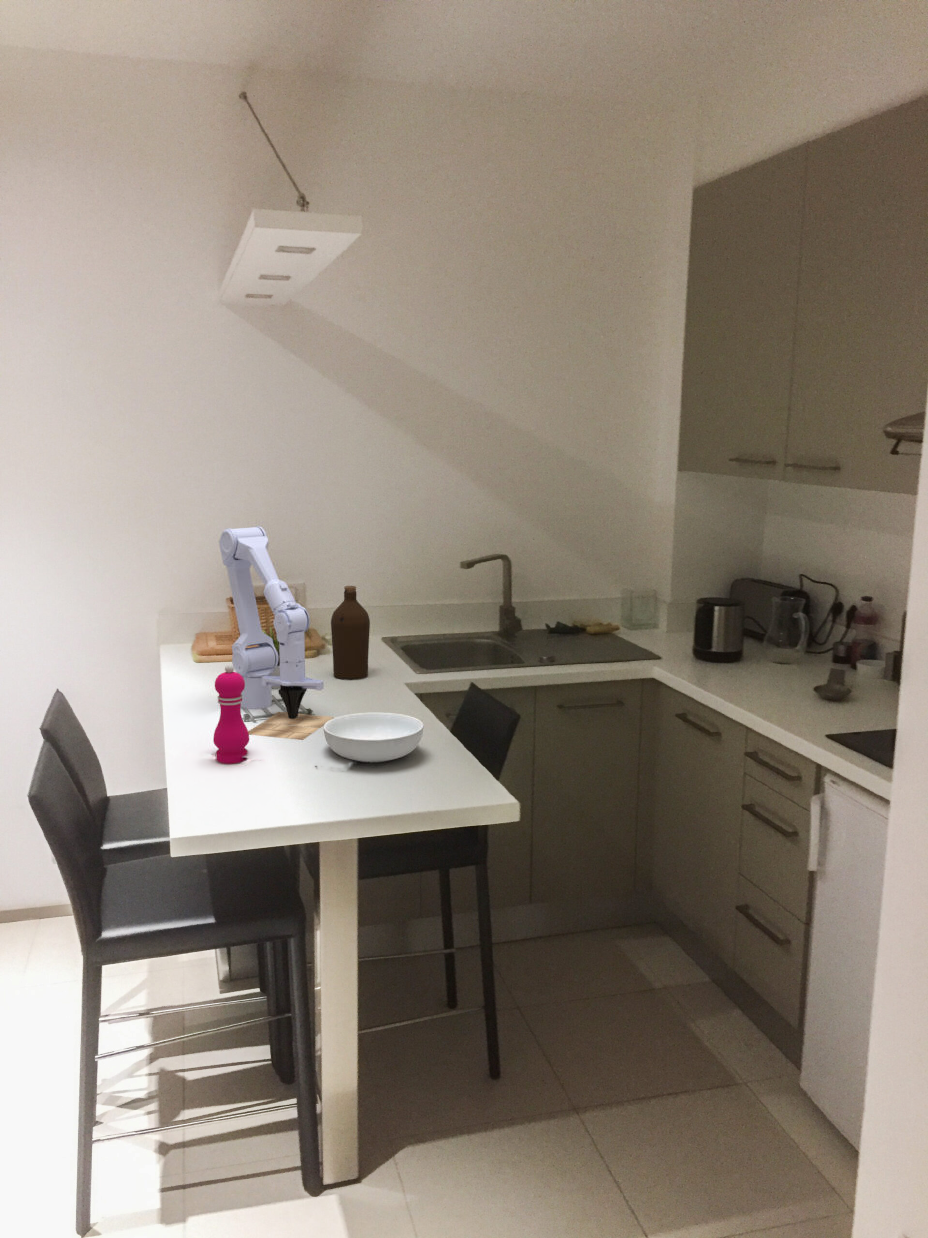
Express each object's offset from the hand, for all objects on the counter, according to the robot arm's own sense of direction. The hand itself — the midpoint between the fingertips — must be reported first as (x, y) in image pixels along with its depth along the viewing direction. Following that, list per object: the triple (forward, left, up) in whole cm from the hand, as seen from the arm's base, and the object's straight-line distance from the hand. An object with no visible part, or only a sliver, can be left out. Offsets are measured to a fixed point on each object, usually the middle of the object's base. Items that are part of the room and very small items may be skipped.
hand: (293, 717), depth 235 cm
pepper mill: (-1, -27, -2) cm, 28 cm away
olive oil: (-4, +47, -2) cm, 47 cm away
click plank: (+2, -1, -1) cm, 2 cm away
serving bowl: (+26, -16, -2) cm, 31 cm away
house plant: (-18, +29, -2) cm, 34 cm away
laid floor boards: (+2, -10, -1) cm, 10 cm away
